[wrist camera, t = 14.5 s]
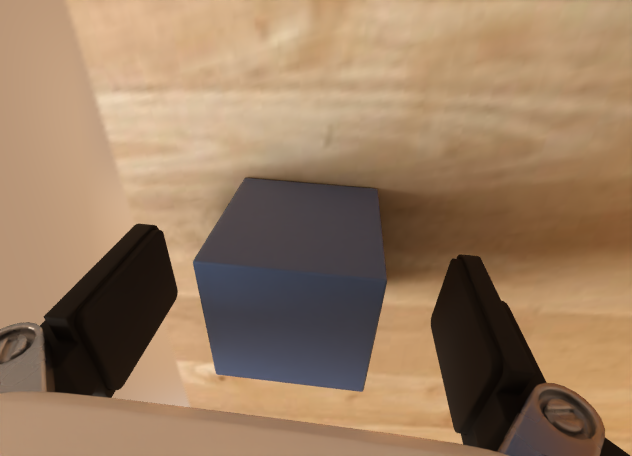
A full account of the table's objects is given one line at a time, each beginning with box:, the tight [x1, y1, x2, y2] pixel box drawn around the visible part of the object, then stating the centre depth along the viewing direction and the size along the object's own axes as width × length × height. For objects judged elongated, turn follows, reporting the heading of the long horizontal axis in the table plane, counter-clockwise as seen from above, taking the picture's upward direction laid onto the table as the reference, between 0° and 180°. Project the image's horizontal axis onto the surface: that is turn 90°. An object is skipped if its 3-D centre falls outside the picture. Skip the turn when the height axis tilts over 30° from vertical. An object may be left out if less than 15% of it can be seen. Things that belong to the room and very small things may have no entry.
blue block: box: [193, 178, 387, 392], centre depth 11 cm, size 4×4×4 cm
